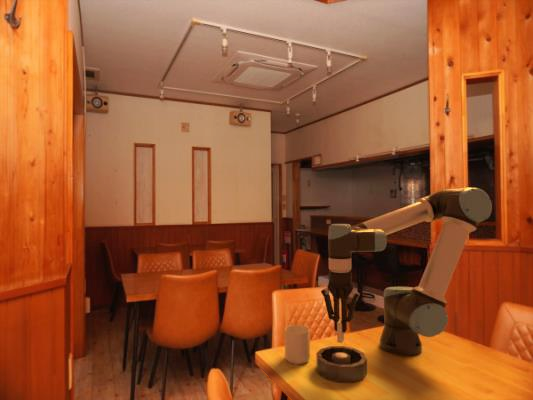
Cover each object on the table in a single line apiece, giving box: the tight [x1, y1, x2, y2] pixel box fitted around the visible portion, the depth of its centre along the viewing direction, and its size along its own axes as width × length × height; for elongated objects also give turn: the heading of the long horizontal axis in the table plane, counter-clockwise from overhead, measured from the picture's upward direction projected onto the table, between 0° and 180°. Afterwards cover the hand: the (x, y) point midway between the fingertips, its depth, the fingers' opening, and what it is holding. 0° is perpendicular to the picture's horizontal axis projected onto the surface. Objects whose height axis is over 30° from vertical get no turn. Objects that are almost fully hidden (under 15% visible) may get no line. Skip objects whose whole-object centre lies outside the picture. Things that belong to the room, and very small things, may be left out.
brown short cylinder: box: [332, 352, 350, 365], centre depth 121 cm, size 6×6×5 cm
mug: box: [284, 324, 311, 365], centre depth 132 cm, size 12×9×11 cm
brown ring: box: [315, 345, 368, 384], centre depth 121 cm, size 16×16×5 cm
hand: (340, 341), depth 121 cm, fingers closed
